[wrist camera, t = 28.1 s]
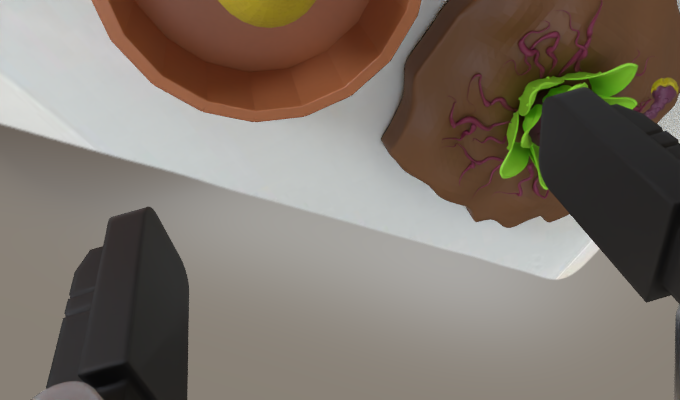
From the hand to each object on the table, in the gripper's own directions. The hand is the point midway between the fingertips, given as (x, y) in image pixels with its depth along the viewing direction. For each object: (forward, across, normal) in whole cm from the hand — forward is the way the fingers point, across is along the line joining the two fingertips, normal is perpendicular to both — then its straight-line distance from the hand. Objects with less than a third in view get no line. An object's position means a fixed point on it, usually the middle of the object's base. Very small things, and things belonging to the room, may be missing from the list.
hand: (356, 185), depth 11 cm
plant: (+22, -16, +14) cm, 31 cm away
